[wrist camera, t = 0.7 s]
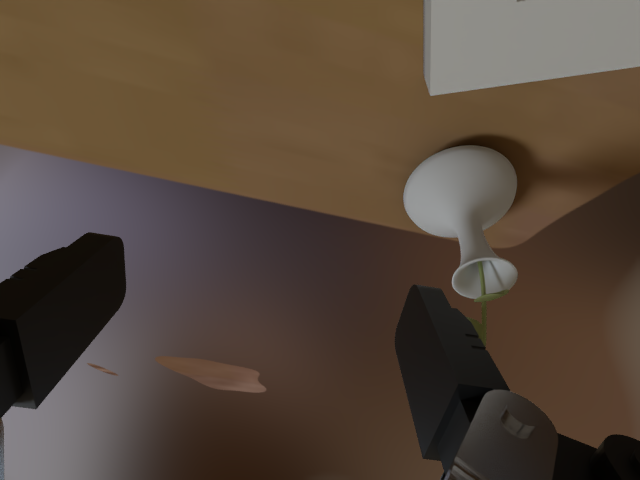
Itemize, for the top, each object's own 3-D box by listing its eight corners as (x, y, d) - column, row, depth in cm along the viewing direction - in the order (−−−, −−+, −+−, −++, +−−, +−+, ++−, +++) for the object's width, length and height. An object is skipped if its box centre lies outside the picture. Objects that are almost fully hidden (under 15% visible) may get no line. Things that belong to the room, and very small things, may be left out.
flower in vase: (435, 121, 36) (504, 350, 17) (537, 159, 37) (700, 407, 19) (379, 218, 44) (385, 439, 26) (463, 246, 46) (525, 473, 27)
